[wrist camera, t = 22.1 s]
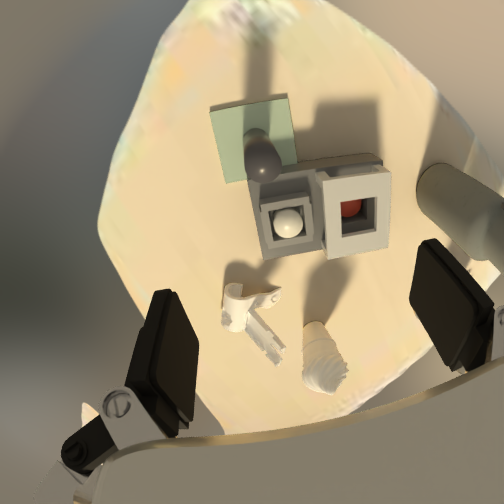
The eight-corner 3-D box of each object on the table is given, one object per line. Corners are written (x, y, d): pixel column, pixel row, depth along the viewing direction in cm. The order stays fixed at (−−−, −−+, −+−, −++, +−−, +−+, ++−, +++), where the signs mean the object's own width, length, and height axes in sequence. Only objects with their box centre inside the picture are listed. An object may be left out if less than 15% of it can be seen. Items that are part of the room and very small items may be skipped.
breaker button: (353, 182, 39) (361, 189, 37) (354, 206, 41) (361, 214, 39) (328, 186, 39) (335, 193, 37) (330, 210, 42) (336, 219, 39)
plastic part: (224, 281, 48) (222, 333, 38) (283, 286, 49) (293, 337, 40) (221, 313, 52) (219, 364, 42) (274, 317, 53) (281, 368, 43)
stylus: (266, 125, 34) (278, 144, 24) (271, 150, 36) (284, 179, 26) (240, 130, 35) (240, 151, 25) (245, 155, 36) (248, 186, 26)
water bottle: (422, 154, 37) (561, 250, 14) (462, 164, 38) (584, 251, 14) (408, 212, 43) (515, 333, 19) (448, 217, 43) (547, 320, 20)
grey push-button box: (370, 152, 37) (394, 167, 31) (371, 225, 44) (390, 250, 37) (246, 171, 38) (248, 189, 32) (261, 245, 45) (265, 274, 38)
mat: (286, 98, 33) (287, 98, 33) (297, 169, 38) (298, 170, 38) (209, 112, 34) (209, 112, 33) (225, 182, 39) (225, 183, 38)
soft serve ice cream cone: (328, 340, 58) (346, 404, 44) (289, 342, 57) (301, 410, 44) (337, 312, 53) (361, 380, 40) (295, 314, 53) (311, 386, 39)
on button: (298, 203, 37) (301, 209, 35) (301, 227, 38) (304, 235, 37) (270, 208, 37) (272, 215, 35) (274, 232, 39) (276, 240, 37)
